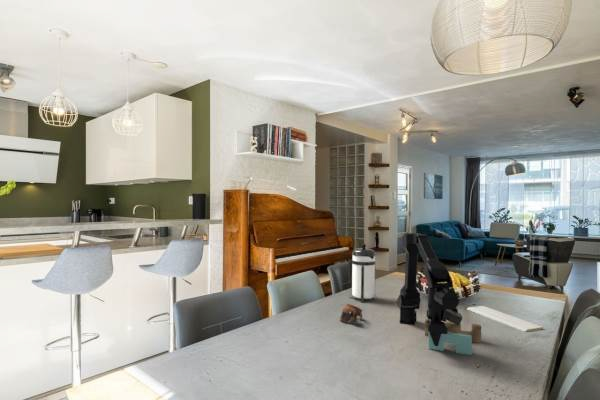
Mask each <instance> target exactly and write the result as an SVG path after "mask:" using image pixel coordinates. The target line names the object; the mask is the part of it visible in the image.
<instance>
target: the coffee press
mask: <svg viewBox="0 0 600 400" xmlns="http://www.w3.org/2000/svg"><path fill="white" fill-rule="evenodd" d="M366 247H367V245H366V243H362V244H361V247H358V248H355V249H353V251H352V253H351V255H352V258H350V259H349V261H348V267H347V269H348V271H347V276H348V277H347V278H348V283H349V284H350V286H351V292H350V293H351V294H350V295H349V299H352V298H357V299H360V303H364V300H368V299H373V300H375V301H377V300H378V297H377V296H376V255H377V254H376V252H375V250H374V249H372V248H369V247H368V248H366ZM351 295H352V296H351ZM375 298H376V299H375Z"/></svg>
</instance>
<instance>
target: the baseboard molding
mask: <svg viewBox="0 0 600 400" xmlns="http://www.w3.org/2000/svg"><path fill="white" fill-rule="evenodd" d="M466 309H467V311H469V310H470V311H469V312H471V311H472V312H471V313H474V312H475V314H476V315H479V314H480V315H479V316H481V317H485V318H487V319H490V320H493V321H495V322H498V323H500V324H503V325H505V326H509V327H512V328H513V329H515V330H519V331H522V332H523V333H525V332H532V331H539V330H543V329H544V326H541V325H538V324H535V323H533V322H530V321H527V320H524V319H521V318H519V317H515V316H513V315H510V314H507V313H504V312H501V311H500V310H499V311H498V310H496V309H493V308H490V307H487V306H484V305H483V303H482V304H479V306H478V305H477V304H476V303H474V304H473V303H472V305H470V306H468V307H467V308H466Z"/></svg>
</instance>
